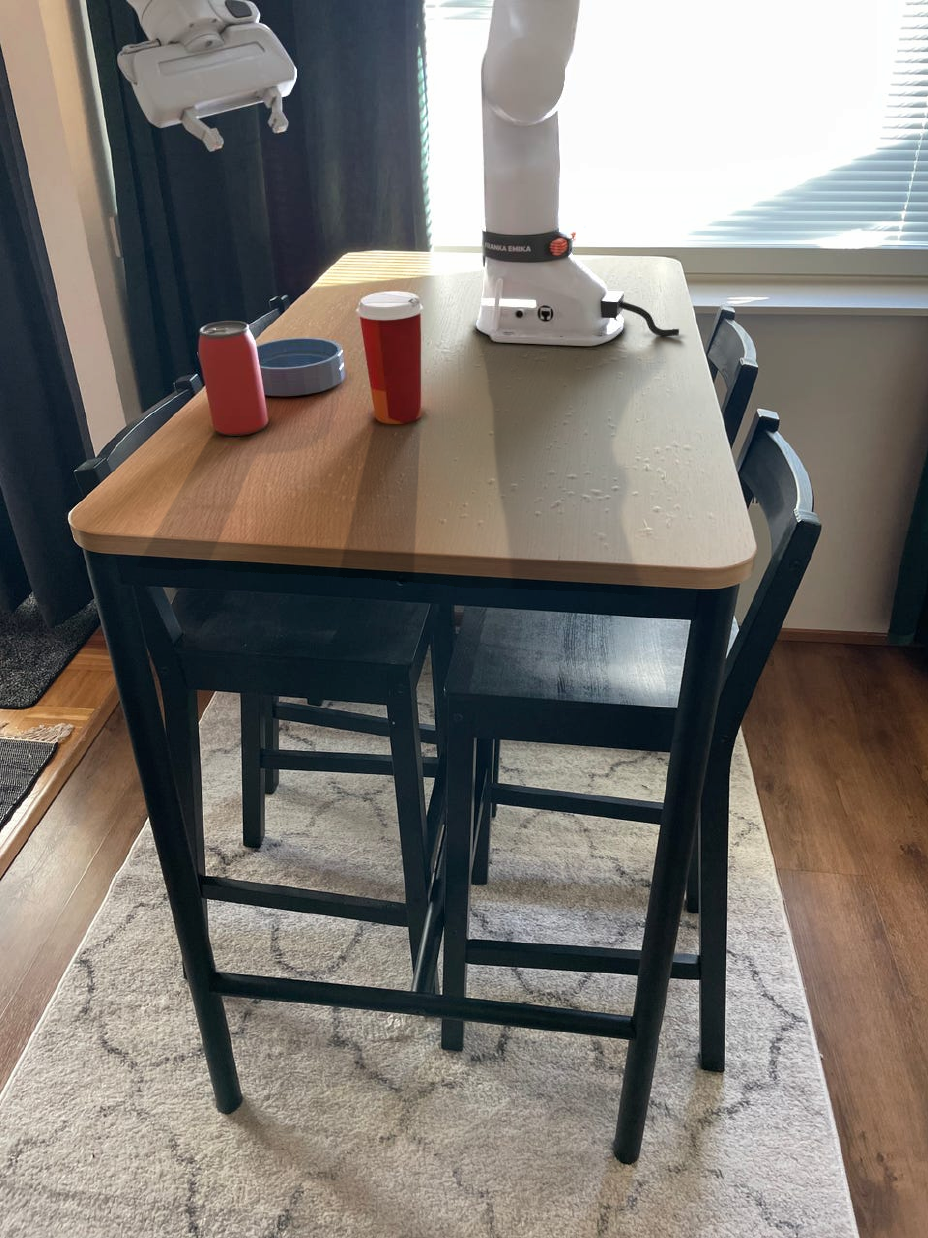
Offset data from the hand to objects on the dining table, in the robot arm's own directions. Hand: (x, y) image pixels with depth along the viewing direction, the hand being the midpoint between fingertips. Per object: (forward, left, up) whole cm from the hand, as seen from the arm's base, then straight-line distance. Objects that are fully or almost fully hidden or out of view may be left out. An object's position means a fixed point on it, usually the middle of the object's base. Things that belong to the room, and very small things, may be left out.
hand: (250, 137), depth 112 cm
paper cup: (-23, +8, -29) cm, 38 cm away
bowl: (-4, +2, -29) cm, 29 cm away
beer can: (-7, +18, -29) cm, 35 cm away
